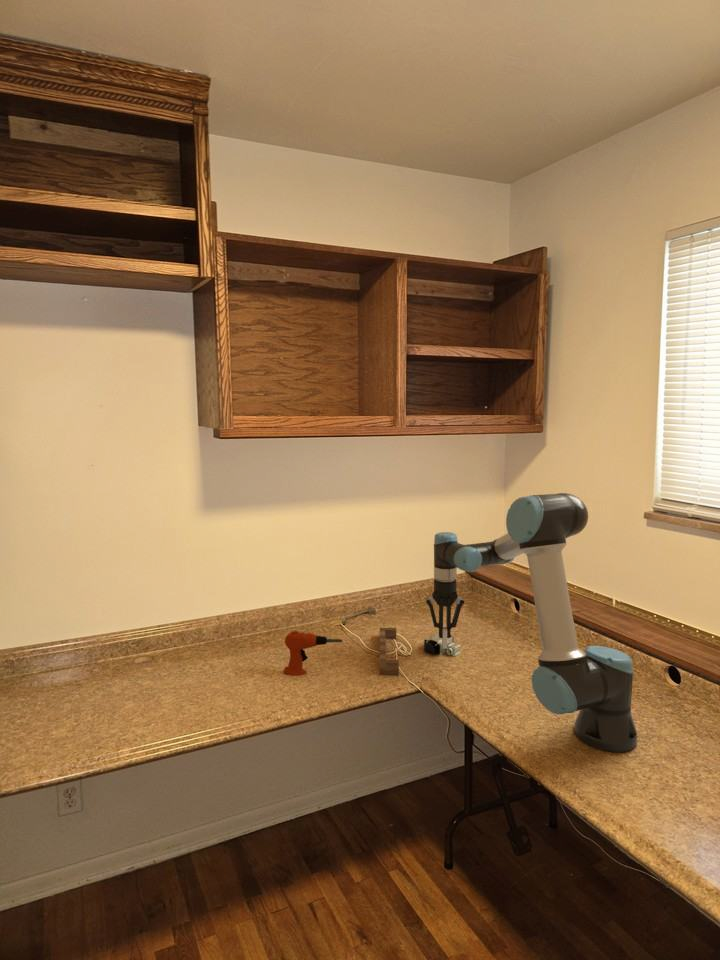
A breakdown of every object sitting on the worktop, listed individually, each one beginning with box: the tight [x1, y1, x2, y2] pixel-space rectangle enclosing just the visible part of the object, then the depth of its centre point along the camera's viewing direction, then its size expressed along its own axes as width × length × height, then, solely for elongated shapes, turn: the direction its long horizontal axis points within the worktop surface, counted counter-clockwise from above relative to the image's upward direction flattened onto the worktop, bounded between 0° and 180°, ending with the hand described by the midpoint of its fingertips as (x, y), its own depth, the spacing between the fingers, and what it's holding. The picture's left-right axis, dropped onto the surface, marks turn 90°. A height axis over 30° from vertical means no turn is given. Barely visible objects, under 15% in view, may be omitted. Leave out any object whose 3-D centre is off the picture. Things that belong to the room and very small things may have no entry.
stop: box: [379, 627, 400, 677], centre depth 202 cm, size 30×6×5 cm, turn 178°
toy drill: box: [283, 630, 343, 677], centre depth 187 cm, size 5×19×15 cm, turn 87°
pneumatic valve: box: [423, 632, 461, 657], centre depth 206 cm, size 6×12×12 cm
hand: (444, 646), depth 201 cm, fingers closed
